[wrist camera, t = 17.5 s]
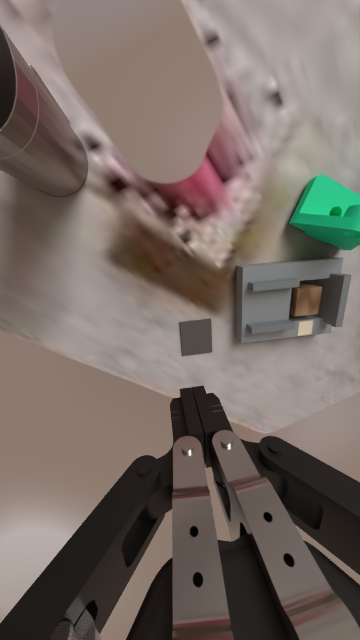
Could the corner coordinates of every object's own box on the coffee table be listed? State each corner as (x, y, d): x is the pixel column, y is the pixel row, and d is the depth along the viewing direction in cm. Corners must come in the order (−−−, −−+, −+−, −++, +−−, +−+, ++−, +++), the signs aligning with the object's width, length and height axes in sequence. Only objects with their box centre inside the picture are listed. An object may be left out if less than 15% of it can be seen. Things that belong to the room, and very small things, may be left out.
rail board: (236, 265, 38) (250, 268, 33) (329, 257, 40) (358, 258, 34) (235, 337, 43) (248, 350, 37) (319, 327, 44) (343, 338, 39)
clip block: (297, 289, 37) (322, 286, 37) (284, 285, 41) (306, 283, 41) (294, 316, 39) (317, 314, 39) (282, 310, 42) (303, 308, 43)
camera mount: (361, 207, 38) (433, 193, 28) (338, 250, 40) (397, 250, 30) (307, 177, 35) (365, 150, 26) (285, 224, 37) (331, 215, 28)
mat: (179, 322, 41) (179, 322, 40) (210, 318, 41) (211, 319, 41) (182, 354, 43) (182, 355, 43) (211, 351, 43) (212, 352, 43)
